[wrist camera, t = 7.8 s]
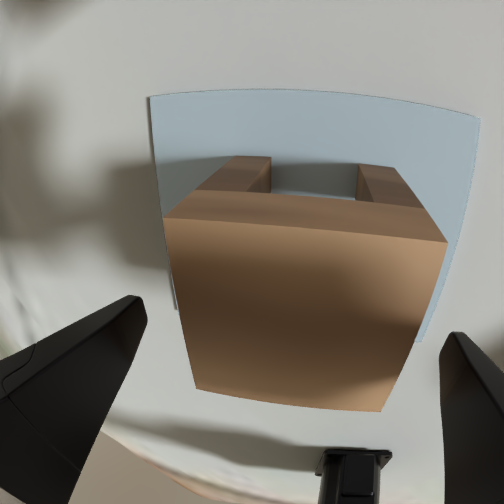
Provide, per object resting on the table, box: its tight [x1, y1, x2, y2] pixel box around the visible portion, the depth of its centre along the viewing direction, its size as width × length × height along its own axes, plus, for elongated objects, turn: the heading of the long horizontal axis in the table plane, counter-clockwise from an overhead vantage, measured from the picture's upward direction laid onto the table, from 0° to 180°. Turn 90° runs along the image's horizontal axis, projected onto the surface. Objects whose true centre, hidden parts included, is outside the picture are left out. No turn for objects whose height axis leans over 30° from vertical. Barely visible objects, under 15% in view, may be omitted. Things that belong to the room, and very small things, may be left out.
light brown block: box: [163, 156, 448, 412], centre depth 11 cm, size 6×6×6 cm
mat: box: [150, 89, 481, 342], centre depth 14 cm, size 12×14×1 cm
